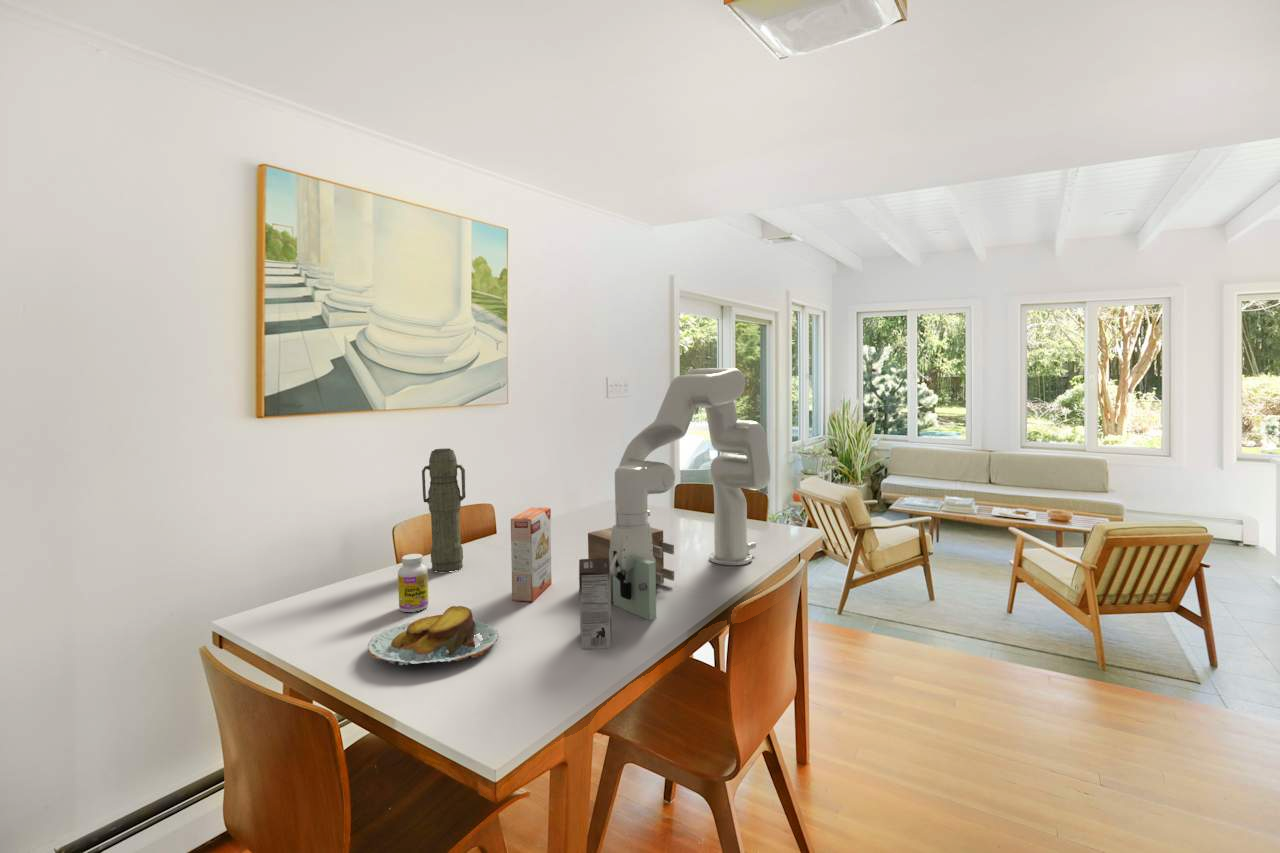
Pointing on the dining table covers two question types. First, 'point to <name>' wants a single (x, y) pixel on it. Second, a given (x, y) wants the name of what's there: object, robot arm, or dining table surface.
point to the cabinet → (601, 547)
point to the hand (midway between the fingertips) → (632, 594)
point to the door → (638, 589)
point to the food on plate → (434, 639)
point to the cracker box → (531, 553)
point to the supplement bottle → (413, 584)
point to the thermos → (444, 509)
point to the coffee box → (595, 603)
